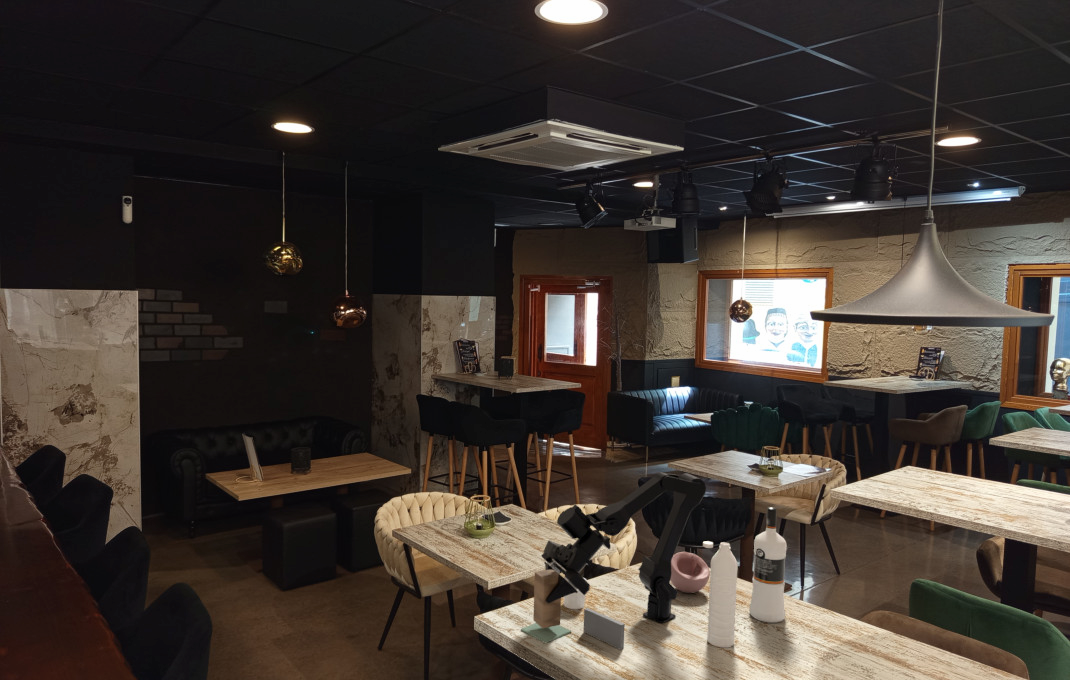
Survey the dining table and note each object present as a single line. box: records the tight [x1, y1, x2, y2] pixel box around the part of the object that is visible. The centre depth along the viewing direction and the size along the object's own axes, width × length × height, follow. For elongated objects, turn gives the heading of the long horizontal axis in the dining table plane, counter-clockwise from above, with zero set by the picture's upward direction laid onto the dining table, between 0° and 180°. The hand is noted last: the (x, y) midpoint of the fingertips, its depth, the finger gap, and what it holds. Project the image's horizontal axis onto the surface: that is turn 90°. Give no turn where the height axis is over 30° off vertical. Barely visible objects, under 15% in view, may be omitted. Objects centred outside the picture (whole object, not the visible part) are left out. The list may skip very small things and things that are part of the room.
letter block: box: [533, 569, 562, 628], centre depth 179 cm, size 5×5×12 cm
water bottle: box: [702, 540, 739, 648], centre depth 176 cm, size 9×6×25 cm
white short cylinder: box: [563, 577, 588, 610], centre depth 196 cm, size 7×7×7 cm
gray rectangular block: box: [583, 607, 626, 650], centre depth 176 cm, size 1×12×6 cm, turn 44°
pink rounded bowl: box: [670, 551, 711, 594], centre depth 208 cm, size 12×12×12 cm
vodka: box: [748, 506, 788, 624], centre depth 192 cm, size 9×9×30 cm
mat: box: [520, 622, 572, 643], centre depth 179 cm, size 9×9×1 cm
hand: (542, 597), depth 179 cm, fingers closed on letter block, 5 cm apart
